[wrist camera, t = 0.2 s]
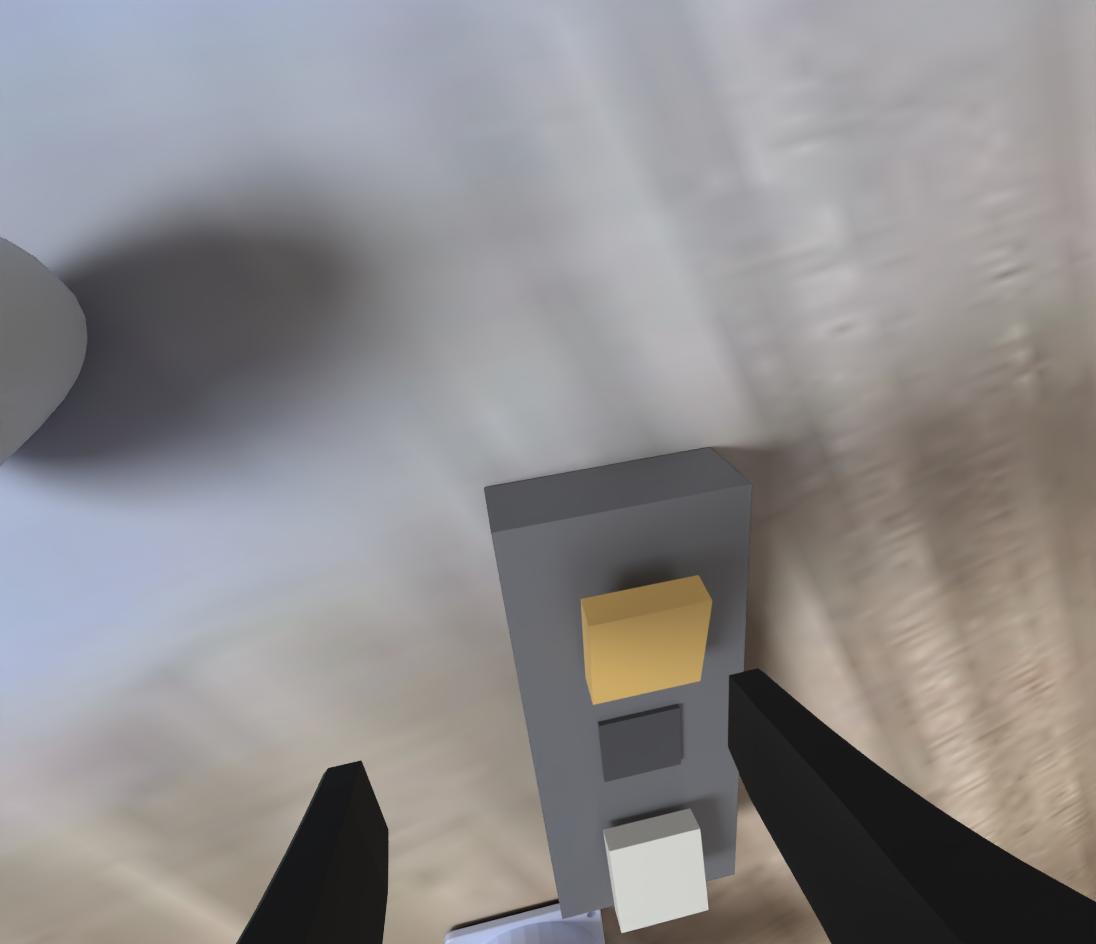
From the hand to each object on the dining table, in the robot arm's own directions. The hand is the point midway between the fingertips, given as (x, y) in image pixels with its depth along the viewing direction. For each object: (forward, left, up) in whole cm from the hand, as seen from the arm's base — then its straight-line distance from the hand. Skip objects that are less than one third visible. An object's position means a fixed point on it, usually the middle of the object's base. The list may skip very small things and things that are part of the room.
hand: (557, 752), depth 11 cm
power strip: (-10, -3, -10) cm, 15 cm away
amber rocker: (-3, -3, -6) cm, 7 cm away
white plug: (-15, -3, -6) cm, 16 cm away
